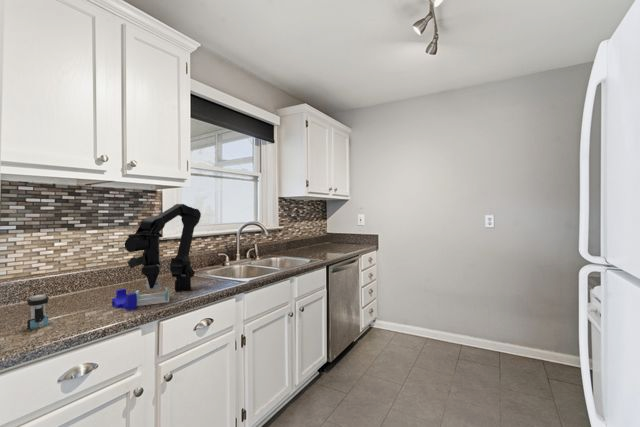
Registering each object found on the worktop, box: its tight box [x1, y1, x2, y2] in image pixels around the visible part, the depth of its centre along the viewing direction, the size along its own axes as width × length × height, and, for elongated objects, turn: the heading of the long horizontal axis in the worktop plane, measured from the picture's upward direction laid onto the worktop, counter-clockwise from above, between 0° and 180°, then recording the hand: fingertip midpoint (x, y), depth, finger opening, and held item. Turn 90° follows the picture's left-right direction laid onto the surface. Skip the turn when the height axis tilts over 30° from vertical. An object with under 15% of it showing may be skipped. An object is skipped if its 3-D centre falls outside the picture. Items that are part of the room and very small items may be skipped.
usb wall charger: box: [145, 278, 161, 292], centre depth 129 cm, size 4×7×4 cm, turn 45°
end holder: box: [134, 286, 170, 307], centre depth 129 cm, size 13×10×4 cm
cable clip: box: [111, 288, 138, 312], centre depth 121 cm, size 12×4×6 cm, turn 52°
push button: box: [26, 294, 54, 330], centre depth 102 cm, size 7×5×10 cm
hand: (152, 286), depth 129 cm, fingers closed on usb wall charger, 7 cm apart
